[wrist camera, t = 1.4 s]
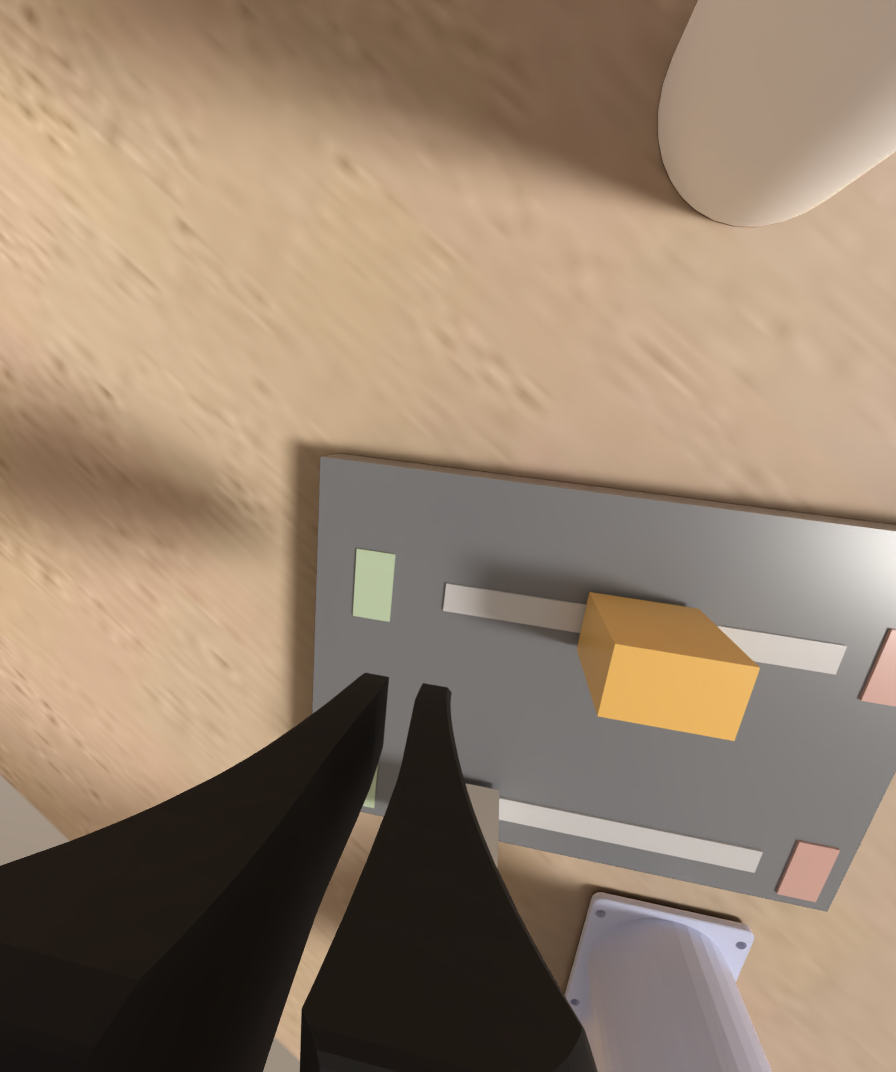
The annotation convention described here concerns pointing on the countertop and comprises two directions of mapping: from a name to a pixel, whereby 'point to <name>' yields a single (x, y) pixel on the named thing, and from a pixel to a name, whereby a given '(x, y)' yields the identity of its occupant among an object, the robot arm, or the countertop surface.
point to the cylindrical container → (777, 104)
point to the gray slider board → (559, 682)
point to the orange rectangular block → (663, 667)
